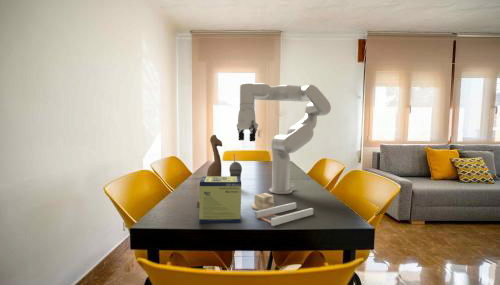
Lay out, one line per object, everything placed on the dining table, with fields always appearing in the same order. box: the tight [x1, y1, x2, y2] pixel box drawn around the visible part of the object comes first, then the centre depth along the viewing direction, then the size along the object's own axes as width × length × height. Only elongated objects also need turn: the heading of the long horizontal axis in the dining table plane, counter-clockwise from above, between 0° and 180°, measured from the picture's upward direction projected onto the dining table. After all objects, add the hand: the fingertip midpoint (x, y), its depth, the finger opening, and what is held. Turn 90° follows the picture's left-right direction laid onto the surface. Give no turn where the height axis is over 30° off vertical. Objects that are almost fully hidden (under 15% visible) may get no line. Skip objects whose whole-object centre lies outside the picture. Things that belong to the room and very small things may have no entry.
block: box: [254, 192, 275, 208], centre depth 115 cm, size 6×6×5 cm
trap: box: [258, 214, 280, 224], centre depth 99 cm, size 7×8×1 cm
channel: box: [254, 201, 314, 227], centre depth 103 cm, size 22×10×2 cm, turn 127°
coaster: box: [250, 202, 275, 211], centre depth 115 cm, size 10×10×1 cm
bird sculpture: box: [196, 134, 223, 207], centre depth 117 cm, size 11×12×32 cm
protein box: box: [198, 175, 242, 224], centre depth 99 cm, size 10×16×16 cm
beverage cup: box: [228, 154, 243, 179], centre depth 146 cm, size 7×7×20 cm
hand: (246, 140), depth 133 cm, fingers open, 9 cm apart
